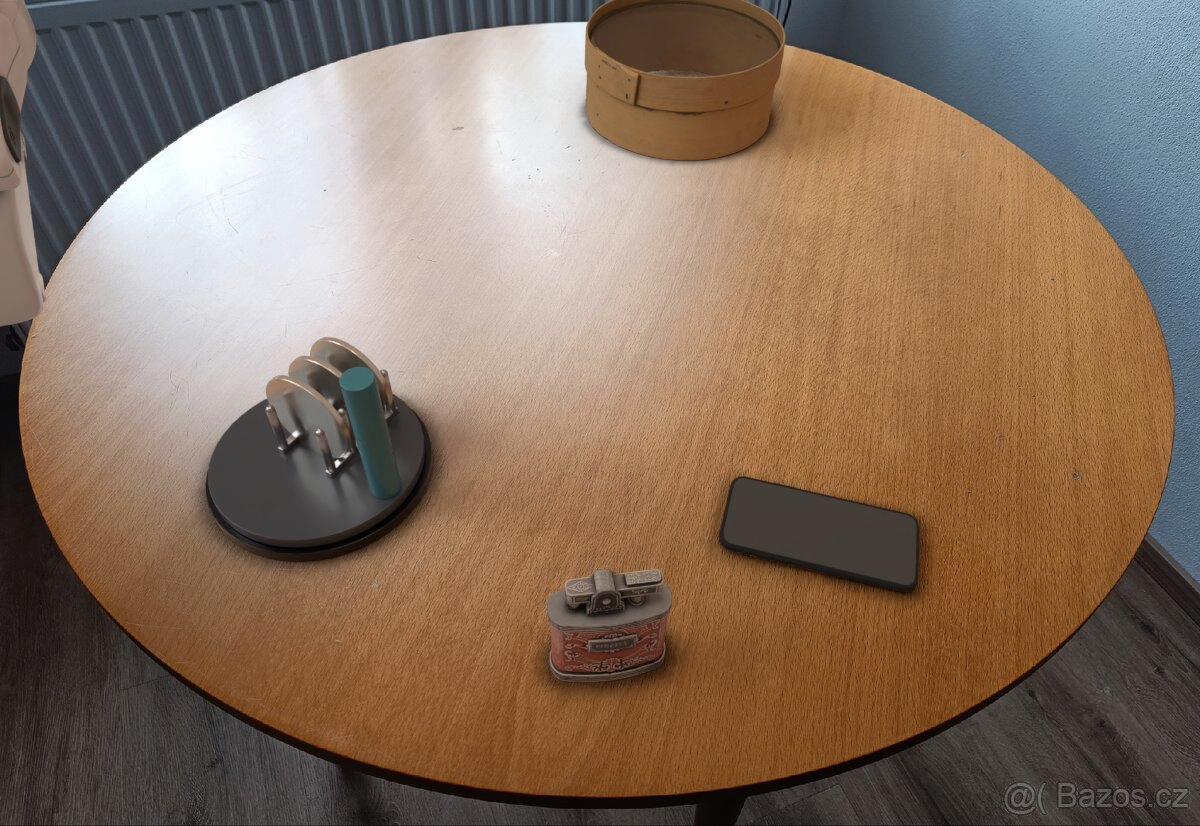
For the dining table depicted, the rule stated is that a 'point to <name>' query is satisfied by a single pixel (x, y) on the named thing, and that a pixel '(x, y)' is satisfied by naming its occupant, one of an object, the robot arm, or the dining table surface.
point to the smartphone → (821, 533)
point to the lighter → (608, 625)
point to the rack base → (340, 546)
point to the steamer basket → (682, 104)
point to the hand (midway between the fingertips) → (18, 222)
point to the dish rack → (318, 452)
